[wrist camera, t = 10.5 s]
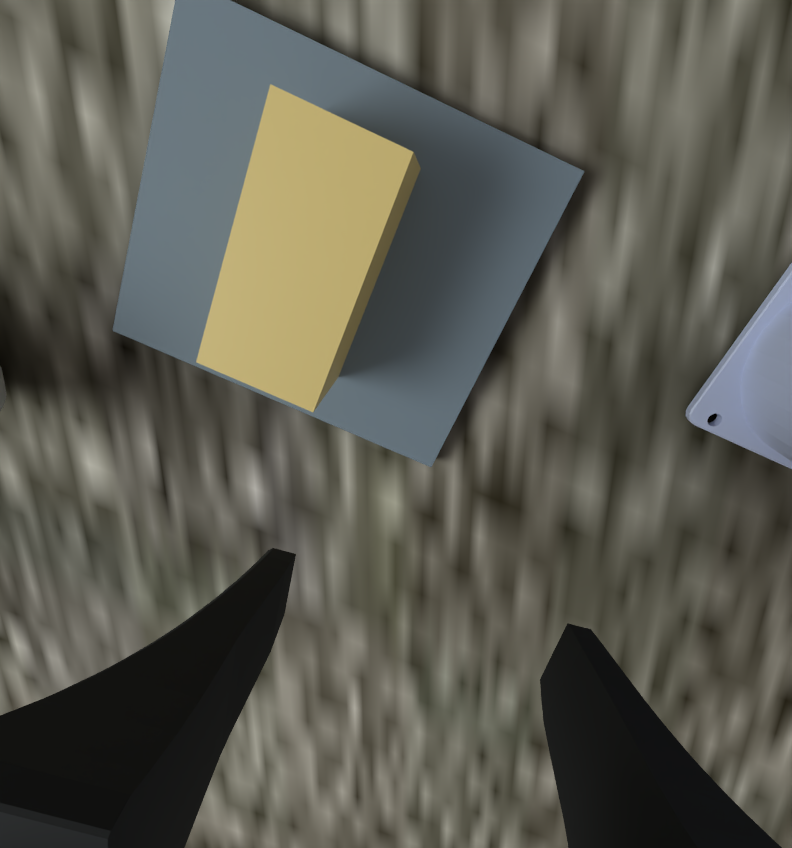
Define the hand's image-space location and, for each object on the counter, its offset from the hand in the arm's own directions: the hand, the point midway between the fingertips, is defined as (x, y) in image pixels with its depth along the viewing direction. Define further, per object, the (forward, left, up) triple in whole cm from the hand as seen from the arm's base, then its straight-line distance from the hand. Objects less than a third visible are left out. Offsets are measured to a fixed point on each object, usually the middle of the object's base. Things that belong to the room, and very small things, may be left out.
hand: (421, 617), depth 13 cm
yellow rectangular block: (+7, -6, -9) cm, 13 cm away
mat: (+7, -6, -9) cm, 13 cm away
